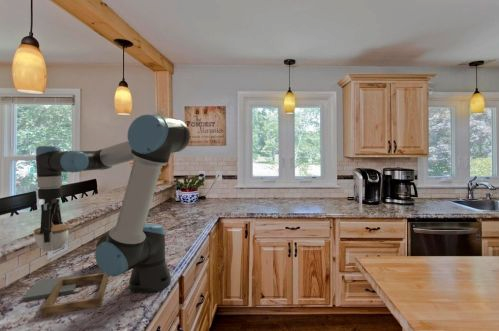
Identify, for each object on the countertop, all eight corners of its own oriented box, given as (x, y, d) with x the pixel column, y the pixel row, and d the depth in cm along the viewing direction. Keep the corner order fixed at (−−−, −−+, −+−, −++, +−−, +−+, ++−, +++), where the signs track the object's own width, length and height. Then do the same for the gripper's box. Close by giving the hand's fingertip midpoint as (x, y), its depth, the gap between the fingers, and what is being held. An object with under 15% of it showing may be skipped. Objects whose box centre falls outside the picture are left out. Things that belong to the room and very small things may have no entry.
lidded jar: (75, 243, 115) (74, 220, 115) (58, 253, 104) (57, 227, 104) (47, 244, 115) (46, 220, 114) (27, 253, 104) (26, 227, 103)
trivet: (81, 276, 120) (81, 274, 120) (73, 293, 106) (73, 289, 106) (37, 283, 115) (37, 280, 115) (23, 301, 101) (23, 297, 101)
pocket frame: (108, 279, 117) (107, 272, 117) (100, 306, 96) (100, 297, 96) (60, 286, 111) (60, 279, 111) (41, 317, 90) (41, 308, 90)
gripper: (47, 184, 118) (49, 238, 119) (26, 192, 96) (29, 257, 97) (68, 183, 121) (71, 236, 122) (53, 190, 99) (56, 254, 100)
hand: (52, 245), depth 109 cm, fingers closed on lidded jar, 11 cm apart
